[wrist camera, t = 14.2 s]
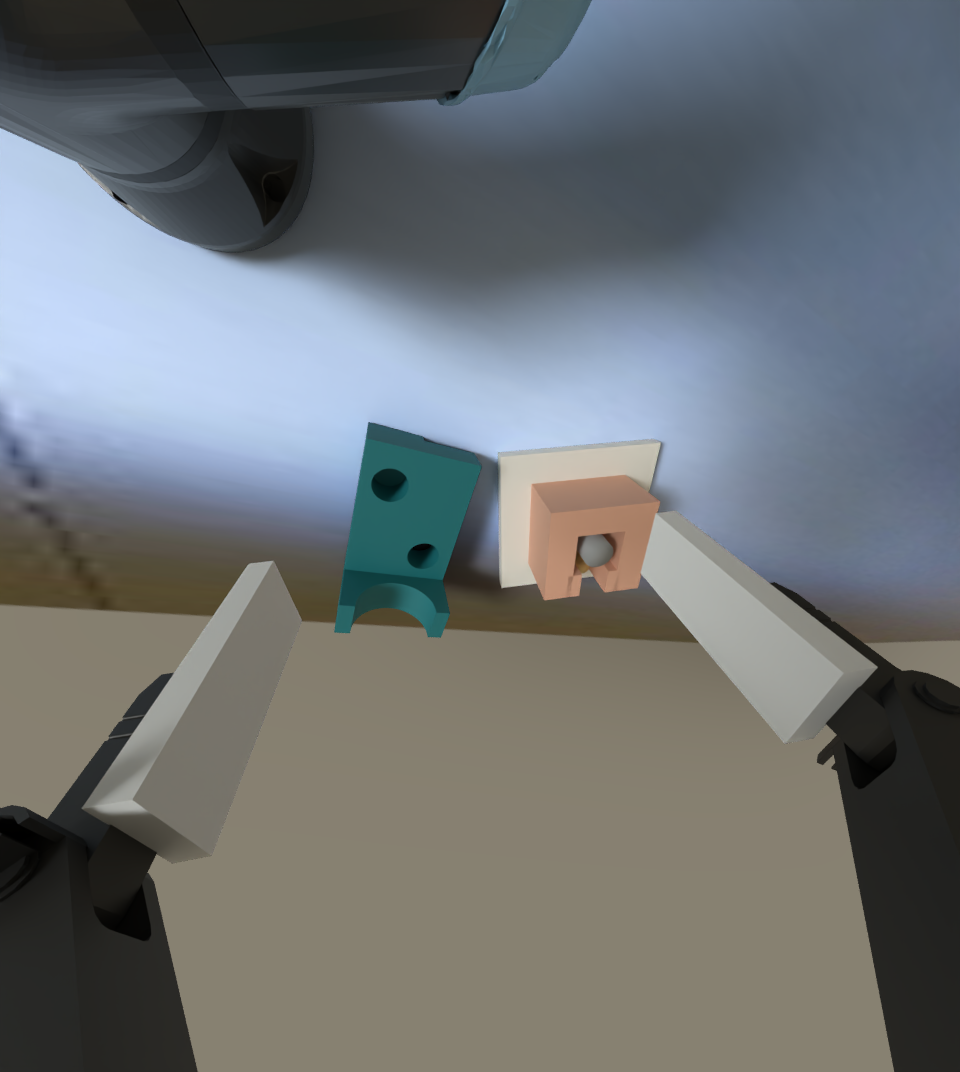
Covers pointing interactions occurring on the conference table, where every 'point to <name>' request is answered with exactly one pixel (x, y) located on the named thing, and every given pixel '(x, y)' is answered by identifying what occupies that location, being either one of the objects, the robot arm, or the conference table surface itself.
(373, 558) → the teal l-shaped bracket
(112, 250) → the conference table surface
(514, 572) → the base
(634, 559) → the orange arch block
